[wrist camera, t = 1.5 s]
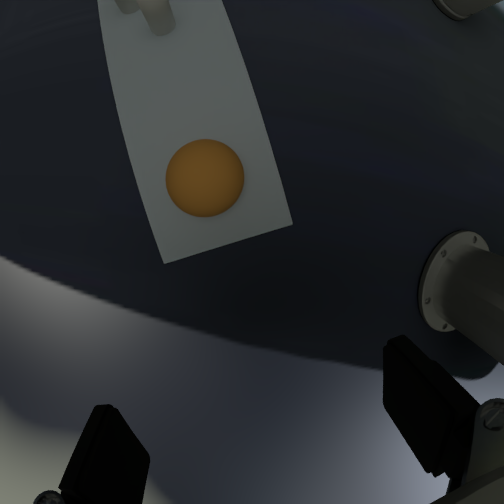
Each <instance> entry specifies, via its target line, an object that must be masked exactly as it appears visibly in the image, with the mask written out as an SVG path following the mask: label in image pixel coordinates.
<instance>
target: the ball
mask: <svg viewBox="0 0 504 504" xmlns="http://www.w3.org/2000/svg"><path fill="white" fill-rule="evenodd" d="M165 181H166V188H167V191H168V194H169V196H170V198H171V200H172V201H173V202H174V204H175V205H176V206H177V207H178V208H179V209H181V210H182V211H184V212H185V213H187V214H190V215H192V216H196V217H212V216H216V215H219V214H221V213H223V212H225V211H226V210H228V209H229V208H230V207H232V206H233V205H234V203H235V202H236V201H237V200H238V198H239V196H240V194H241V192H242V189H243V185H244V170H243V166H242V163H241V161H240V159H239V157H238V156H237V154H236V153H235V152H234V151H233V150H232V149H231V148H230V147H229V146H227V145H226V144H224V143H222V142H220V141H216V140H212V139H199V140H195V141H192V142H189V143H187V144H185V145H184V146H182V147H181V148H180V149H179V150H178V151H177V152H176V153H175V154H174V155H173V156H172V158H171V160H170V162H169V164H168V167H167V170H166V179H165Z"/></svg>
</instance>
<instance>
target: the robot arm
mask: <svg viewBox="0 0 504 504" xmlns="http://www.w3.org/2000/svg"><path fill="white" fill-rule="evenodd" d="M418 302H419V309H420V313H421V315H422V317H423V319H424V321H425V322H426V323H427V324H428V325H429V326H431V327H432V328H433V329H435V330H437V331H440V332H448V331H452V330H455V329H456V330H458V331H459V332H461V333H462V334H463V335H465V336H466V337H467V338H469V339H470V340H471V341H473V342H474V343H475V344H477V345H478V346H479V347H481V348H482V349H483V350H484V351H486V352H487V353H488V354H490V355H491V356H492V357H493V358H495V359H496V360H497V361H499V362H500V363H501V364H502V365H504V257H502V256H500V255H497V254H494V253H491V252H490V251H489V248H488V246H487V244H486V242H485V240H484V239H483V238H482V237H481V236H480V235H478V234H476V233H475V232H471V231H468V230H460V231H456V232H453V233H452V234H450V235H448V236H447V237H445V238H444V239H443V240H442V241H441V242H440V243H439V244H438V245H437V247H436V248H435V249H434V250H433V252H432V254H431V255H430V257H429V259H428V261H427V263H426V265H425V267H424V270H423V273H422V276H421V280H420V285H419V292H418ZM383 405H384V408H385V409H386V411H387V413H388V414H389V416H390V417H391V419H392V420H393V422H394V423H395V425H396V426H397V428H398V430H399V431H400V433H401V434H402V436H403V437H404V439H405V440H406V442H407V444H408V445H409V447H410V448H411V450H412V451H413V453H414V455H415V456H416V458H417V459H418V461H419V462H420V464H421V465H422V467H423V469H424V470H425V472H426V473H430V472H431V473H432V474H433V476H434V477H437V476H439V475H441V474H442V473H444V472H445V473H446V475H447V476H448V478H450V480H449V484H448V488H447V492H446V495H445V496H443V497H441V498H439V499H437V500H436V501H434V502H432V503H430V504H504V399H501V398H495V399H490V400H488V401H486V402H484V403H483V404H482V405H480V404H479V403H478V402H477V401H476V400H475V399H474V398H473V397H472V396H471V395H470V394H469V393H468V392H467V391H466V390H465V389H464V388H463V387H462V386H461V385H460V384H459V383H458V382H457V381H456V380H455V379H454V378H453V377H452V376H451V375H450V374H449V373H448V372H447V371H446V370H445V369H444V368H443V367H442V366H441V365H440V364H438V363H437V362H436V361H432V360H430V359H429V358H428V357H427V356H426V355H425V354H424V353H423V352H422V351H421V350H420V349H419V348H418V347H417V346H416V345H415V344H414V343H413V342H412V341H411V340H410V339H408V338H407V337H406V336H405V335H400V336H398V337H395V338H393V339H390V340H388V342H387V345H386V346H384V348H383ZM149 464H150V456H149V454H148V452H147V451H146V450H145V448H144V447H143V445H142V444H141V443H140V441H139V440H138V439H137V437H136V436H135V434H134V433H133V432H132V430H131V429H130V427H129V426H128V424H127V423H126V421H125V420H124V418H123V417H122V415H121V414H120V412H119V411H118V409H116V408H114V407H113V406H112V405H110V404H107V405H96V406H95V407H94V409H93V411H92V413H91V415H90V417H89V419H88V421H87V423H86V426H85V428H84V430H83V432H82V434H81V436H80V439H79V441H78V443H77V445H76V448H75V450H74V452H73V454H72V456H71V459H70V461H69V463H68V465H67V468H66V470H65V473H64V475H63V477H62V480H61V483H60V485H59V487H58V488H59V489H60V490H61V494H59V493H58V492H56V491H53V490H48V491H44V492H42V493H41V494H39V495H38V496H37V497H36V499H35V500H34V502H33V504H142V501H143V496H144V490H145V485H146V480H147V474H148V469H149Z"/></svg>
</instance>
